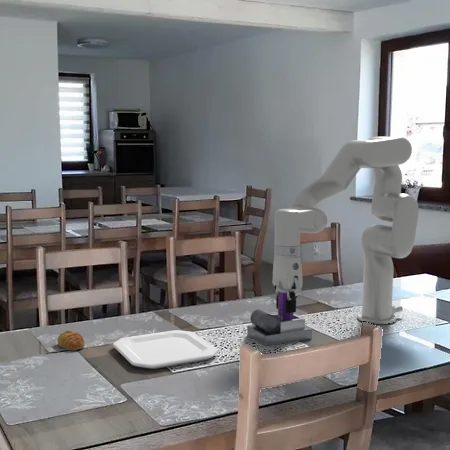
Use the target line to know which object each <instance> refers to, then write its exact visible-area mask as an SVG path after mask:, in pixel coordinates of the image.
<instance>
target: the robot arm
mask: <svg viewBox="0 0 450 450" xmlns="http://www.w3.org/2000/svg"><path fill="white" fill-rule="evenodd" d="M412 153H413V147H412V144H411V142H410V141H409V139H407V138H405V137H403V136H373V137H370V138H368V139H364V140H363V139H356V140H355V139H354V140H353V139H352V140H348V141H347V142H345V143H344V144H343V145H342V146H341V148H340V149H339V150H338V152H337V153H336V155H335V156H334V158H333V159H332V160H331V162H330V163H329V165H328V166H327V167H326V169H325V171H324V172H323V173H322V175H320V176H319V177H318V178H316V179H314V180H313V181H312V182H310V183H309V184H308V185H306V186H305V187H304V188H302V189H301V190H300V191H299V192H298V193H297V195H296V196H295V197H294V198H293V199H292V201H291V203H290V204H289V206H288V207H287V208H279V209H277V210H276V211H275V212H274V242H273V243H274V245H273V246H274V248H273V249H274V250H273V251H274V252H273V253H274V257H273V265H272V281H271V282H272V285H273V286H274V290H275V297H276V301H275V302H276V305H275V306H276V307H275V308H276V309H277V310H278V287H279V281H281V284H282V287H283V288H284V289H286V290H287V299H288V300H286V313H294V314H295V313H296V311H297V300H298V298H299V295H301V294H302V288H303V266H302V264H303V263H302V259H301V256H300V252H301V251H300V250H301V246H300V244H301V233H304V234H305V233H306V234H317V233H321V232H322V231H323V230H324V229H325V228H326V227H327V223H328V218H327V215H326V213H325V212H324V211H323V210H321V209H319V208H316V206H317V205H318V204H320V202H322V201H324V200H325V201H326V200H327V199H330V198H333V197H335V196H338V195H340V194H343V193H344V192H345V191H346V190H347V189H348V188H349V185H350V184H351V183H352V181H353V180H354V178H355V177H356V176H357V174H358V173H359V172H360V170H361V169H373V172H374V187H373V193H372V199H371V206H370V211H371V215H372V217H373V218H375V219H376V220H378V221H382V222H388V223H392V225H391V226H390V225H384V224H377V223H376V224H370V225H369V226H367V227H366V228H365V229H364V230H363V233H362V235H361V247H362V253H363V278H362V279H363V280H362V303H361V304H362V306H361V311H360V312H358V313H357V316H356V318H357V320H359V321H361V322H363V321H367V322H369V323H368V324H371V323H372V324H373V323H374V324H373V325H389V324H388V323H390V324H394V323H395V322H397V316H396V315H395V314H396V313H400V312H403V310H404V309H403V306H402V305H398V306H395V305H394V304H393V287H394V286H393V285H394V272H395V271H394V263H393V259H392V258H395V259H405V258H407V257H408V256H409V255H410V254H411V253H412V251H413V247H414V244H415V239H416V233H417V227H418V221H419V213H420V209H419V203H418V202H417V200H416V198H415V197H414V196H413V195H410V194H408V193H402V184H403V173H402V169H401V168H400V165H403V164H405V163H407V161H408V160H410V158H411V156H412ZM291 287H293V289H292V288H291ZM290 291H293V293H292V294H290ZM393 322H394V323H393ZM372 324H371V325H372Z"/></svg>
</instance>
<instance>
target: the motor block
mask: <svg viewBox="0 0 450 450" xmlns="http://www.w3.org/2000/svg"><path fill="white" fill-rule="evenodd" d="M250 323H251V324H250V325H247V326H246V329H247V330H246V331H247V332H246V335H247V336H248V338H249V337H250V338H251V339H253V340H255V342H258V343H259V344H261V345H263V346H264V347H268V346H275V345H276V346H277V345H282V344H286V343H294V342H299V341H306V340H311V339H313V329H312V327H310V326H307V325H306V318H305V317H302V316H300V315H298V314H296V313H294V318H293V319H292V320H285V321H281V320H279V319H278V312H277V313H269V312H266V311H264V310H262V309H256V310H255V309H254V311H252V313H251V314H250Z"/></svg>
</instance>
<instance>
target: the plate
mask: <svg viewBox="0 0 450 450" xmlns="http://www.w3.org/2000/svg"><path fill="white" fill-rule="evenodd" d="M112 346H113V348H114V349H115V350H116V351H118V353H119V354H121V356H122V357H124V358H125V360H127V361H128V363H130V364H131V365H132V366H134V367H136V368H137V367H138V368H142V369H149V370H155V369H161V368H168V367H173V366H178V365H179V366H180V365H185V364H190V363H195V362H202V361H206V360H208V359H211V358H213V357H215V355H217V353H218V352H219V349H218V348H217V347H216V346H214V345H212V344H211V343H209V342H208V341H206V340H205V339H204V338H202V337H201V336H199V335H197V334H196V333H195V332H193V331H188V330H181V329H180V330H179V329H178V330H177V329H175V330H166V331H161V332H160V331H159V332H154V333H147V334H140V335H133V336H126V337H121V338H119V339H118V340H115V342H113V343H112Z"/></svg>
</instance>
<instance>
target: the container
mask: <svg viewBox="0 0 450 450" xmlns="http://www.w3.org/2000/svg"><path fill="white" fill-rule="evenodd" d="M291 288H292V289H293V287H291ZM292 293H293V291H290V294H292ZM277 296H278V309H277V313H278V319H279V320H281V321H285V320H292V319H293V318H294V314H295V312H294V313H286V300H288V299H287V290H286V289H284V288H283V287H282V284H281V281H279V287H278V295H277Z"/></svg>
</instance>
